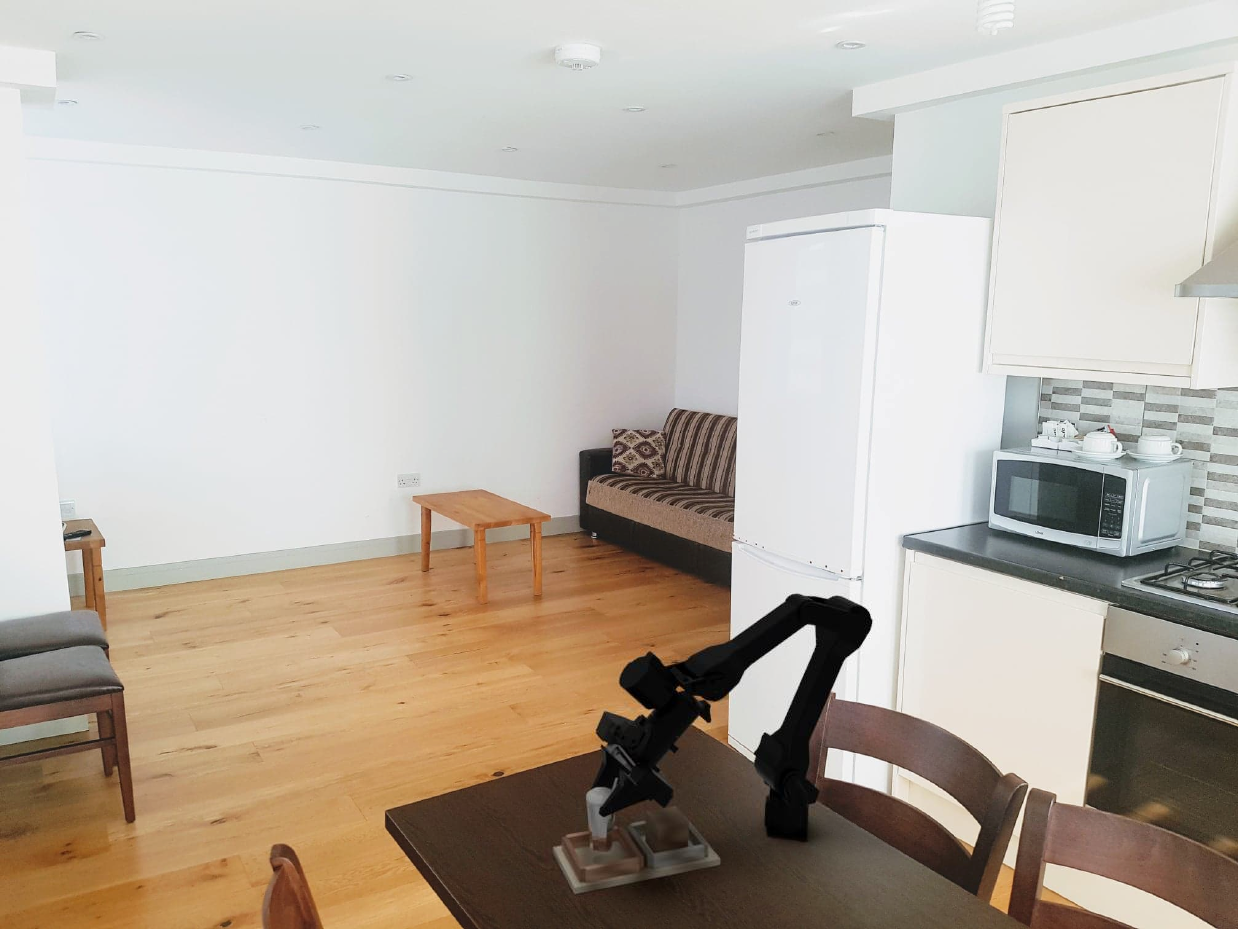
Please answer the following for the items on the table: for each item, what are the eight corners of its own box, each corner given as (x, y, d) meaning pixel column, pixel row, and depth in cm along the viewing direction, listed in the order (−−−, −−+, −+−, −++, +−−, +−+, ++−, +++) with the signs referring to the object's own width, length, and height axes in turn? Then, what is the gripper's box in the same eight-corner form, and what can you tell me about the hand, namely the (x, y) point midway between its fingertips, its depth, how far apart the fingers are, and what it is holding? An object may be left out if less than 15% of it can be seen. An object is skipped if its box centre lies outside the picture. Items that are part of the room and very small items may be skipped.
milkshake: (626, 846, 139) (627, 783, 138) (600, 859, 136) (600, 795, 134) (606, 834, 143) (606, 772, 141) (579, 847, 139) (579, 784, 138)
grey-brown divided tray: (689, 828, 150) (690, 793, 150) (720, 864, 140) (721, 827, 139) (552, 853, 143) (553, 816, 142) (574, 894, 132) (575, 855, 131)
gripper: (608, 672, 146) (540, 749, 144) (653, 720, 128) (577, 808, 126) (654, 713, 150) (589, 789, 147) (704, 764, 132) (631, 851, 130)
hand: (595, 807), depth 138 cm, fingers closed on milkshake, 4 cm apart
